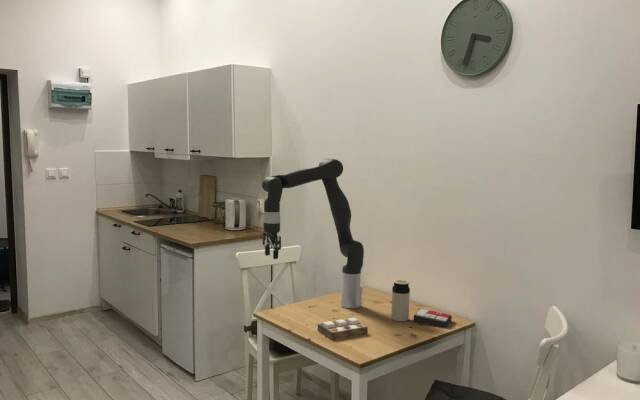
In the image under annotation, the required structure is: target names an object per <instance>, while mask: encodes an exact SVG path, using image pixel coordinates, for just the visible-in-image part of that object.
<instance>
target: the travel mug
mask: <svg viewBox="0 0 640 400" xmlns="http://www.w3.org/2000/svg"><path fill="white" fill-rule="evenodd" d="M409 284H410V281H409V280H407V279H403V278H402V279H393V286H392V287H391V290H392V291H391V292H392V293H391V313H390V315H391V317H390V319H391V320H393V321H394V322H399V323H403V322H407V321H409V320H410V319H409V318H410V317H409V314H410V295H411V293H410V291H411V289H410V285H409Z"/></svg>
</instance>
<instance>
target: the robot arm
mask: <svg viewBox="0 0 640 400" xmlns="http://www.w3.org/2000/svg"><path fill="white" fill-rule="evenodd" d="M343 171H344V165H343V163H342V162H341V161H340V160H338V159H335V158H323V159H321V160H320V162H319V164H318V166H315V167H309V168H303V169H297V170H294V171H290V172H286V173H281V174H276V175H270V176H267V177H265V178H264V179H263V180H262V183H261V187H262V190H263V191H265V192H267V197H266V199H265V200H264V202H263V224H262V225H263V226H262V227H263V229H262V230H263V232H262V242H261V243H262V246H263V247H264V255H265V256H270V255H271V248H272V250H273V251H272V258H273V260H278V259H279V251H281V250H282V237H281V236H280V235H279V236H278V233H280V232H281V204H280V203H281V200H282V194H283V190H284V189H291V188H295V187H298V186H302V185H306V184H309V183H312V182H317V181H320V180H322V183H323V187H324V189H325V193H326V196H327V200H328V203H329V208H330V212H331V216H332V219H333V222H334V226H335V231H336V233H337V240H338V244H339V250H340V253H341V255H342V256H343V257H345V258H347V259H346V264H344V265H343V266H342V268H341V269H342V270H341V272H342V273H341V278H342V279H341V298H340V299H341V303H340V304H341V305H340V306H341V307H343V308H345V309H359V308H360V307H362V301H363V300H362V299H363V288H362V287H361V284H362V283H361V281H362V278H361V277H362V269H363V266H364V255H365V254H364V253H365V249H364V248H365V247H364V245H363V243H362V242H360V241H358V240H355V239H354V238H353V235H352V232H351V221H352V210H351V207H350V203H349V201H348V198H347V196H346V195H345V194H344V191H343V190H342V189H341V187H340V185H339V182H338V179H337V178H339V177H340V176H341V175H342V174H343Z"/></svg>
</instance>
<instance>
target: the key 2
mask: <svg viewBox="0 0 640 400" xmlns="http://www.w3.org/2000/svg"><path fill="white" fill-rule="evenodd" d="M346 320H347V323H349V324H351V325H353V324H358V323H359V322H360V321H359V319H358V318H356V317H349V318H346Z"/></svg>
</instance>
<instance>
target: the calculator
mask: <svg viewBox="0 0 640 400" xmlns="http://www.w3.org/2000/svg"><path fill="white" fill-rule="evenodd" d="M452 318H453V316H452V315H451V314H448V313H444V312H440V311H434V310H428V309H423V308H421V309H419V310H417V312H416V313H414V315H413V321H412V322H413V323H414V322H415V324H420V323H422V324H421V325H427V324H429V326H431V325H433V326H432V327H437V326H438V328H445V329H446V328H447V327H448V326H449V325H450V324H449V323H452Z"/></svg>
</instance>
